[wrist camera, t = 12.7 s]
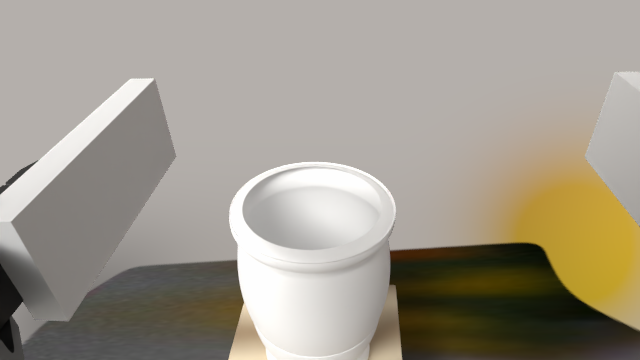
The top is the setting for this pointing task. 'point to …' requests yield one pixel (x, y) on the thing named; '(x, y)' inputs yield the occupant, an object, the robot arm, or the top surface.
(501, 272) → the top surface
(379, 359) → the step stand
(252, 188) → the jar
